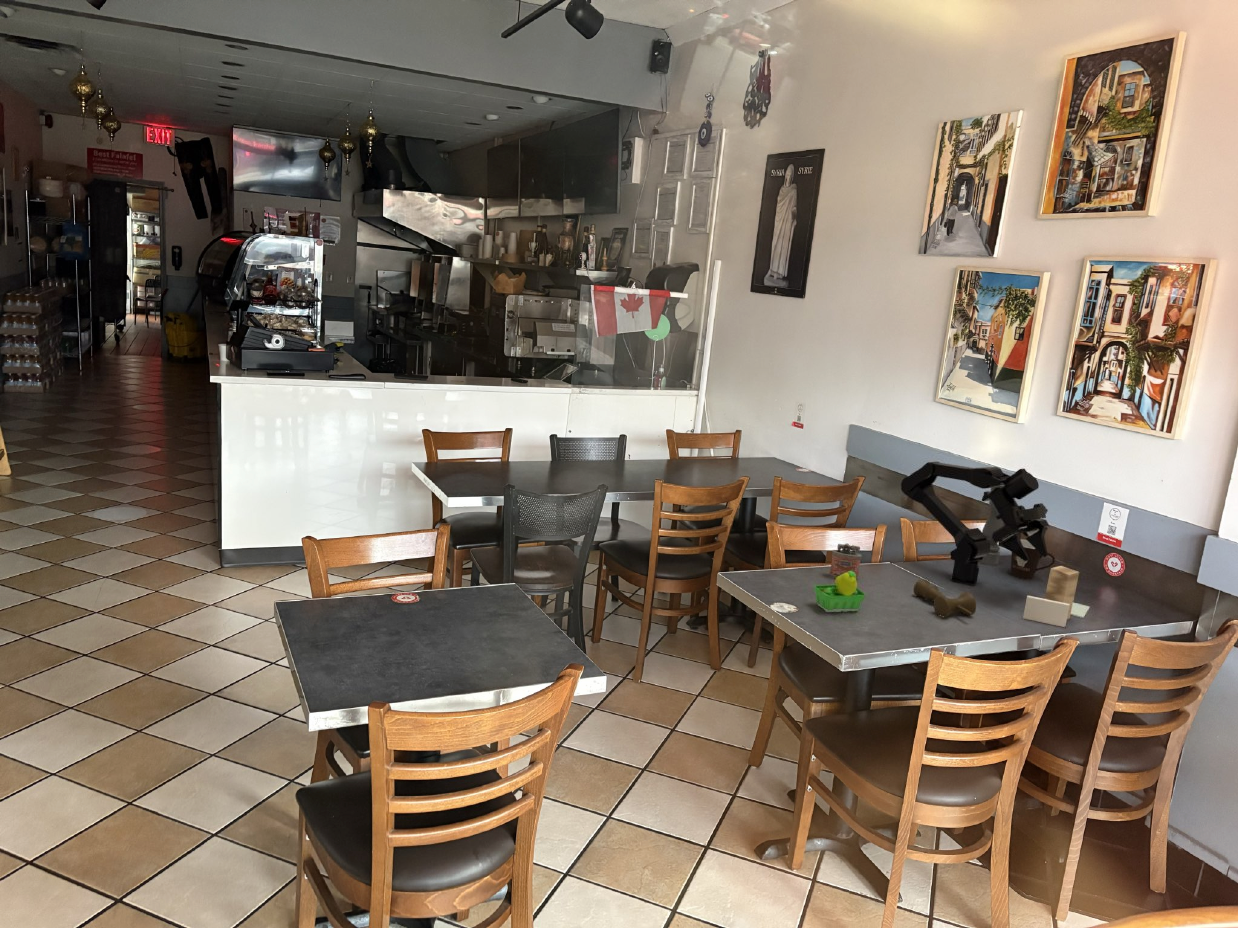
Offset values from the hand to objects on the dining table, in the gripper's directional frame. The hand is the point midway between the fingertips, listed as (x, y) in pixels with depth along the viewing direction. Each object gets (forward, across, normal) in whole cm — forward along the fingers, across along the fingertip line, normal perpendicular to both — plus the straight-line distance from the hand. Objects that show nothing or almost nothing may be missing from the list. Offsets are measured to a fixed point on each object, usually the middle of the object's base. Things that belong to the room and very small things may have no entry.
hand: (1036, 558), depth 241 cm
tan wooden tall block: (+15, 0, +4) cm, 16 cm away
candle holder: (-10, +24, +29) cm, 39 cm away
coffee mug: (0, +22, +19) cm, 29 cm away
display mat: (+14, +9, +5) cm, 17 cm away
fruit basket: (-4, -53, +24) cm, 58 cm away
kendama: (+4, -26, +16) cm, 30 cm away
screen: (+16, -7, +3) cm, 18 cm away
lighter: (-16, -33, +35) cm, 51 cm away
